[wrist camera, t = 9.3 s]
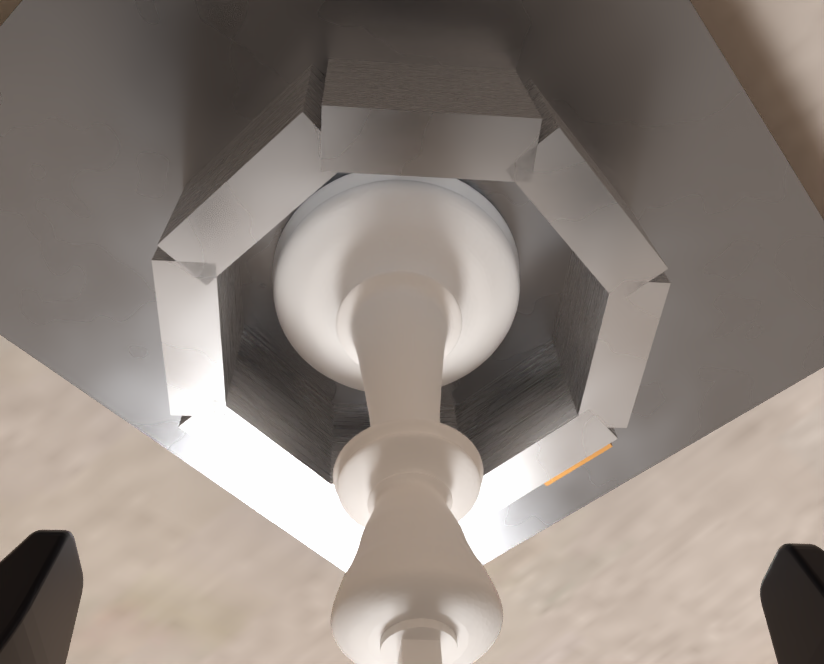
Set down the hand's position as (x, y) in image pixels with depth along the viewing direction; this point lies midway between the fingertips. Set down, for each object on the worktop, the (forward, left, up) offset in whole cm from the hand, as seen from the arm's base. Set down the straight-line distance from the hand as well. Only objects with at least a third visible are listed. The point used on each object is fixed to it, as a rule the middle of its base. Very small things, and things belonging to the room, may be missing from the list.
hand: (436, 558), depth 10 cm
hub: (0, 0, -8) cm, 8 cm away
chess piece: (0, 0, -7) cm, 7 cm away
